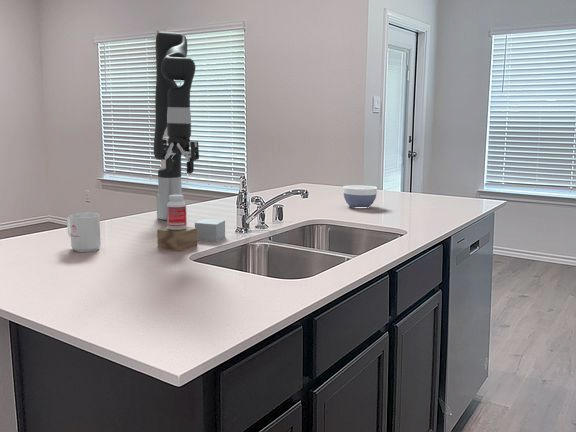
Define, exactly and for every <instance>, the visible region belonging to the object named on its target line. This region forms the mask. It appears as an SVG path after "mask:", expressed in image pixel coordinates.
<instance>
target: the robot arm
mask: <svg viewBox="0 0 576 432" xmlns="http://www.w3.org/2000/svg"><path fill="white" fill-rule="evenodd" d="M187 55H188V39H187V37H186V35H185V34H184V33H180V32H173V31H172V32H171V31H159V32H157V34H156V37H155V64H156V65H155V67H156V68H155V69H156V70H155V71H156V76H155V77H156V79H155V95H154V96H155V99H154V100H155V101H154V102H155V104H154V105H155V108H154V109H155V125H154V127H155V128H154V137H153V138H154V140H153V154H154V158H155V159H156V160H161V161H164V160H165V166H164V167H162V168H159V169H158V171H157V184H158V187H157V188H158V190H157V191H158V194H156V218H157V219H159V220H163V221H167V203H168V202H170V200H169V195H174V194H180V195H183V194H182V193H183V192H182V156H183V157H184V158H185V159H186V173H187V174H193V173H194V170H195V169H194V164H195V163H194V162H196V161H198V160H199V159H200V149H199V141H197V140H192V141H191V138H190V137H191V135H192V114H191V88H192V84H193V81H194V76H195V74H196V63H195V61H194V59H192V58H190V57H187ZM176 81H183V83H182V85H181V86H178V84H177V83H176ZM165 132H166V134H167V136H164V135H165Z"/></svg>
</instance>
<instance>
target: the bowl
mask: <svg viewBox="0 0 576 432" xmlns="http://www.w3.org/2000/svg"><path fill="white" fill-rule="evenodd" d="M342 191H343V198H344V200H345V202H346V204H347V205H348V206H349V207H350V206H351V207H369V208H370V207H371V205H372V204H374V201H376V198H377V194H378V187H377V186H374V185H366V184H365V185H364V184H348V185H347V184H346V185H343V186H342ZM351 207H350V208H351Z"/></svg>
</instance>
